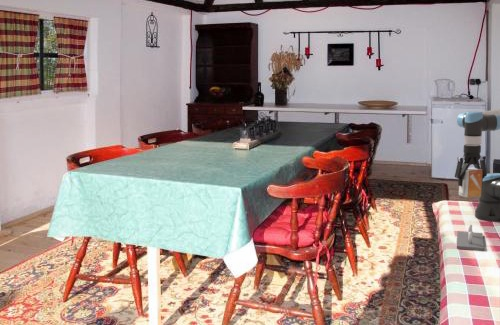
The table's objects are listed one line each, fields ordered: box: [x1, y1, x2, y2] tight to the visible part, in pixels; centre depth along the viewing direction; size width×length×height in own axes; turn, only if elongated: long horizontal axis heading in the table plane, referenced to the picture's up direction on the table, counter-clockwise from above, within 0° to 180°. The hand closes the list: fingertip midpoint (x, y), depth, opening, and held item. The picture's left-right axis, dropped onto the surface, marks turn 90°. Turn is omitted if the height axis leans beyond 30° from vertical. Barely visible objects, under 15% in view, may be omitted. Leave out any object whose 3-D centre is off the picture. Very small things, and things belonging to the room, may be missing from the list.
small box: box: [458, 167, 482, 198], centre depth 260 cm, size 8×6×13 cm
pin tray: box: [456, 224, 485, 252], centre depth 250 cm, size 22×11×6 cm, turn 159°
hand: (469, 191), depth 261 cm, fingers closed on small box, 8 cm apart
